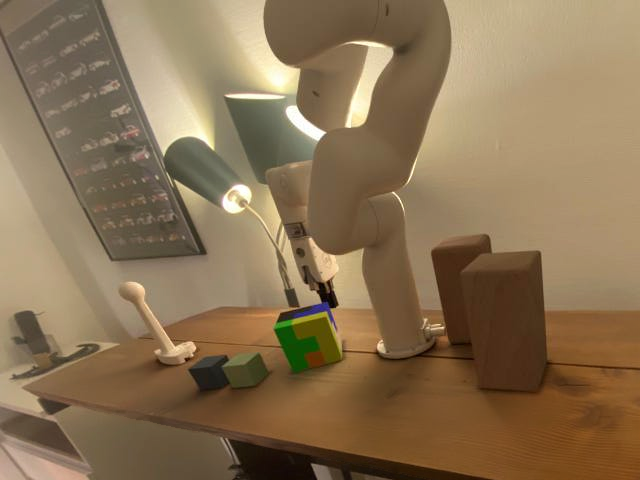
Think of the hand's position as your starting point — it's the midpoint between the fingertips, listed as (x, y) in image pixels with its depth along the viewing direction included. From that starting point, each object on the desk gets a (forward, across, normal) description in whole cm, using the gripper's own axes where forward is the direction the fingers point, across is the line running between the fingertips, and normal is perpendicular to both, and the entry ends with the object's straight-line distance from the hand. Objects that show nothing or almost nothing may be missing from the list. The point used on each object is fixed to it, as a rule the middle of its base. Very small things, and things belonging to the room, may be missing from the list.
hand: (331, 307), depth 91 cm
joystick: (+7, -5, +41) cm, 42 cm away
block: (+6, -10, -35) cm, 37 cm away
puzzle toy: (+7, -13, 0) cm, 14 cm away
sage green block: (+6, -21, +11) cm, 24 cm away
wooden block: (+6, -28, -43) cm, 52 cm away
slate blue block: (+7, -20, +19) cm, 28 cm away
